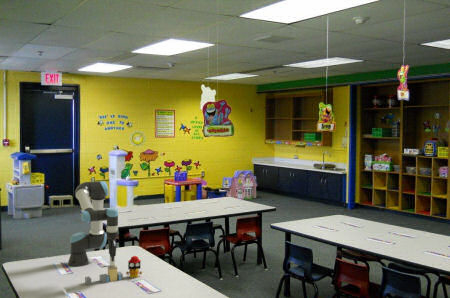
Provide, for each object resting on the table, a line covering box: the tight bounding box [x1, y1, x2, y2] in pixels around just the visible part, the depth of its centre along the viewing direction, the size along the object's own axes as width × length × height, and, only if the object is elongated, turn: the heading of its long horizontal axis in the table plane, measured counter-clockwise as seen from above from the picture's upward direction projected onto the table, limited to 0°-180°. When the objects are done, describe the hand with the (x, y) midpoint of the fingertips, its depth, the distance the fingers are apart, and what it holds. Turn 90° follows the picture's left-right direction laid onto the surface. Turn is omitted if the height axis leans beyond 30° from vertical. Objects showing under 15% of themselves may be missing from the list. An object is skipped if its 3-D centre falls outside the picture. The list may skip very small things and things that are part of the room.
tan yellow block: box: [107, 264, 118, 282], centre depth 307 cm, size 5×5×9 cm
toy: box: [125, 255, 143, 279], centre depth 317 cm, size 11×9×15 cm
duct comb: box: [84, 271, 124, 286], centre depth 304 cm, size 6×24×5 cm, turn 121°
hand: (112, 265), depth 308 cm, fingers closed
